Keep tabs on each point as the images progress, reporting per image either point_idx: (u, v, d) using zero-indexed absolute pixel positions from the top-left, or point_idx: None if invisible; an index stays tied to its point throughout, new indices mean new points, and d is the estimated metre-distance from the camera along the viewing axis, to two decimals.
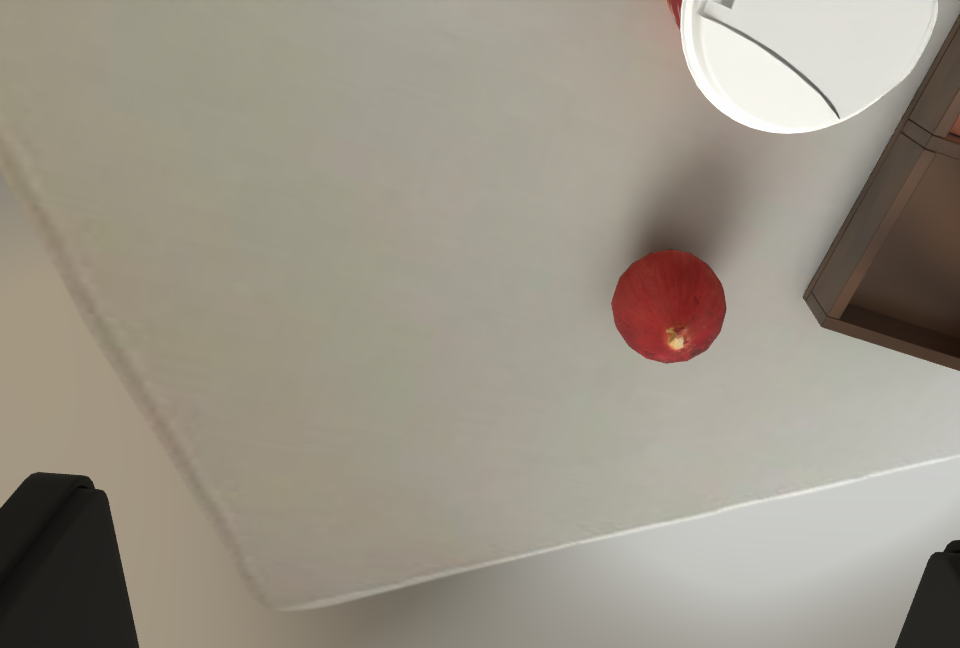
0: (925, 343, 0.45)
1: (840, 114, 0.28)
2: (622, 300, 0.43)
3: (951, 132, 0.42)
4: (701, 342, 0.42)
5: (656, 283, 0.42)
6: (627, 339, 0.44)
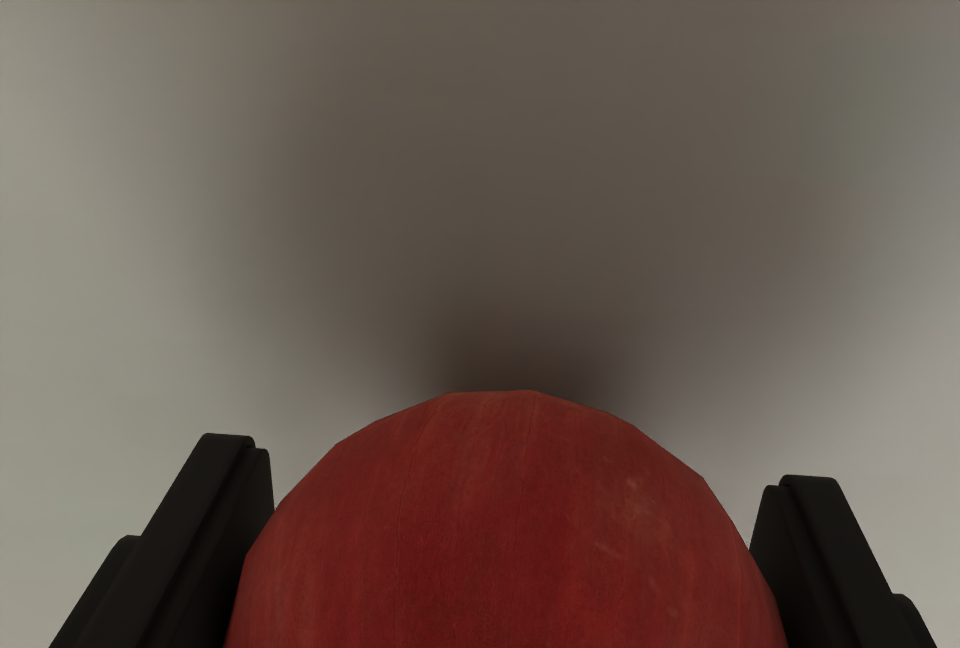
0: None
1: None
2: None
3: None
4: None
5: None
6: None
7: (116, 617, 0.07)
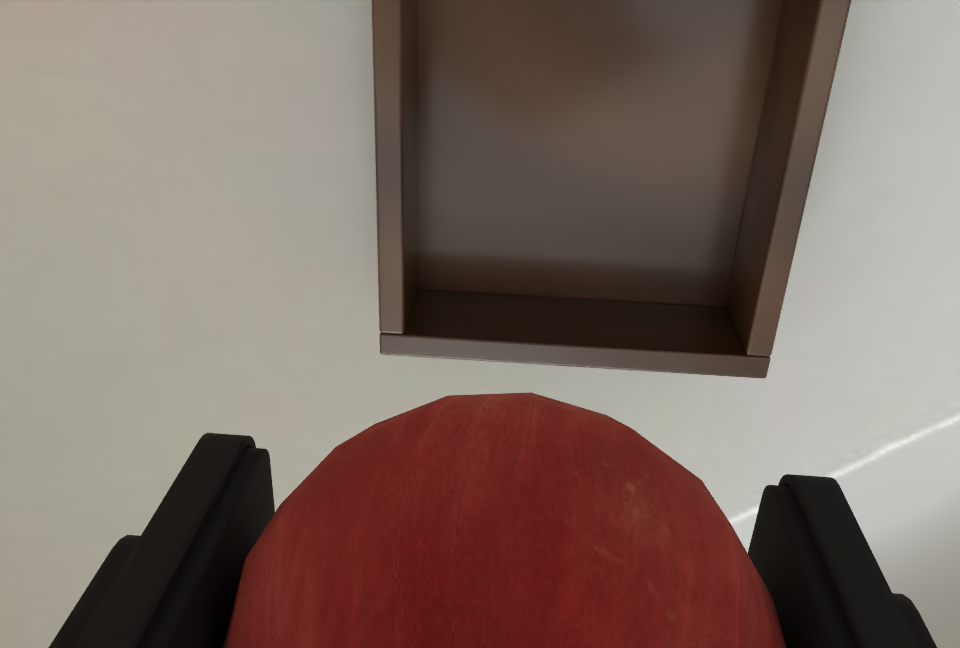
0: (590, 337, 0.24)
1: None
2: None
3: None
4: None
5: None
6: None
7: (116, 617, 0.07)
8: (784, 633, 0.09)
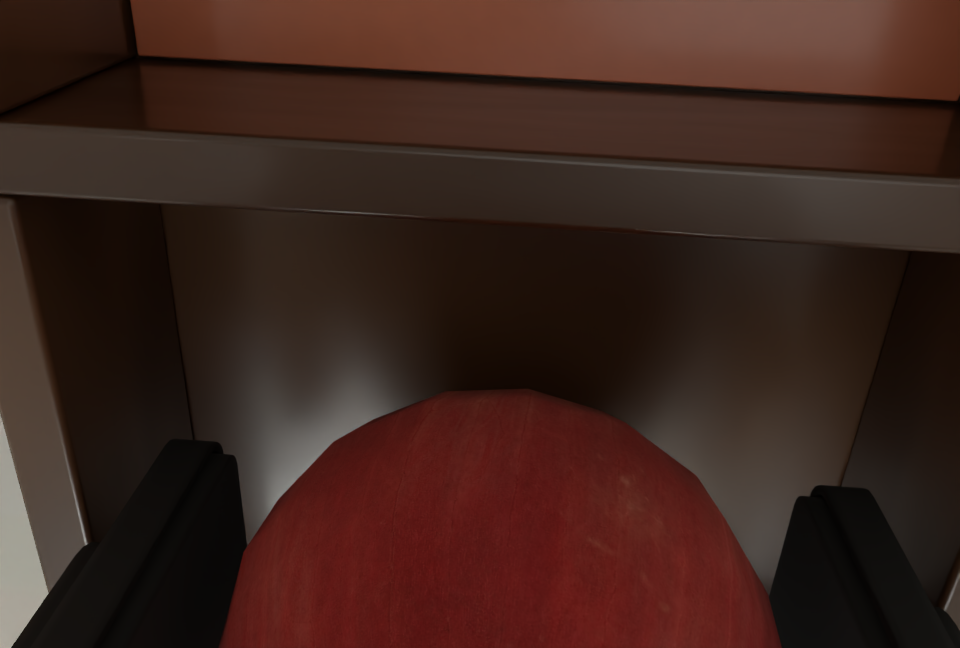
0: None
1: None
2: None
3: (271, 61, 0.10)
4: None
5: None
6: None
7: (69, 628, 0.07)
8: (820, 647, 0.09)
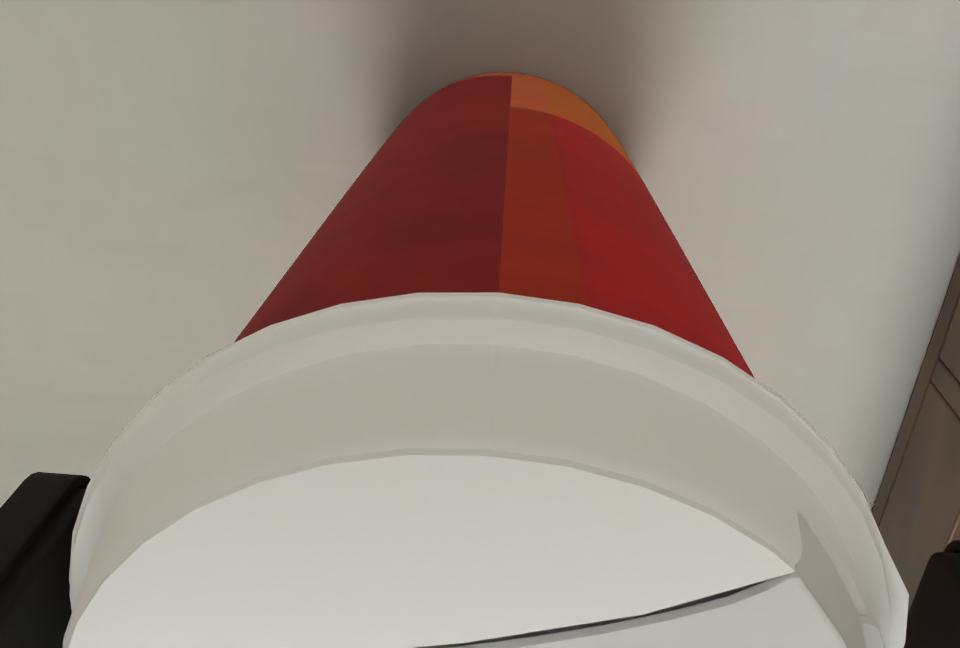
0: None
1: None
2: None
3: None
4: None
5: None
6: None
7: None
8: None
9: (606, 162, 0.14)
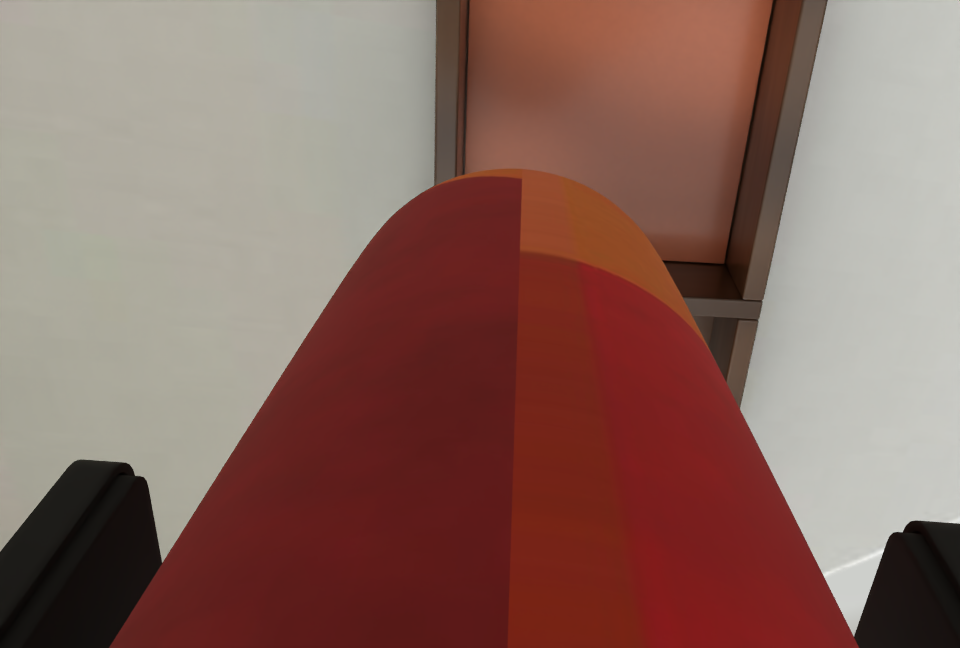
0: None
1: None
2: None
3: None
4: None
5: None
6: None
7: None
8: None
9: (668, 362, 0.09)
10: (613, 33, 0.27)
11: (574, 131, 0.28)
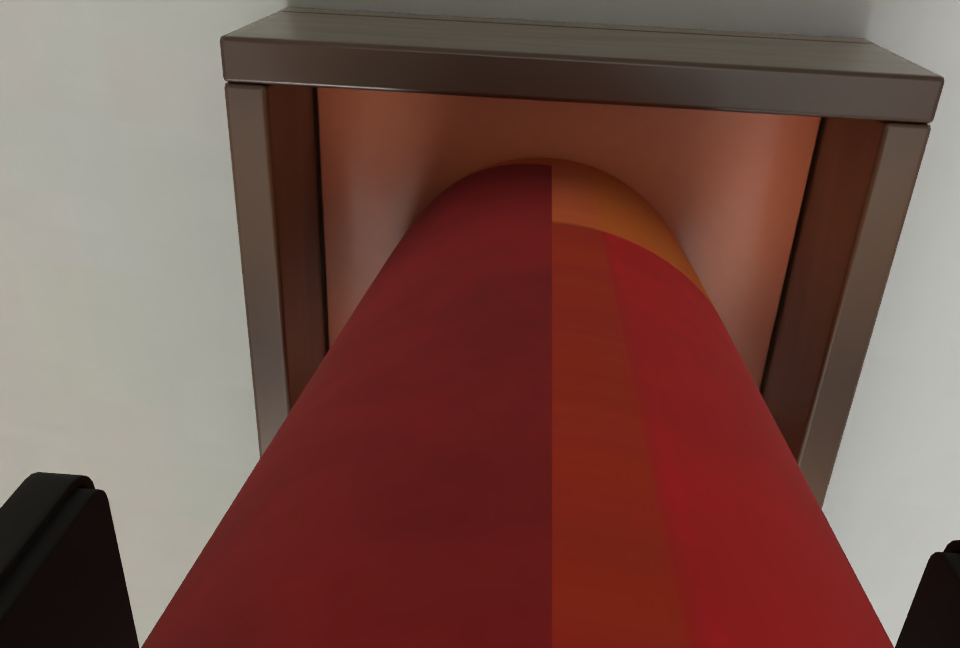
0: None
1: None
2: None
3: None
4: None
5: None
6: None
7: None
8: None
9: (680, 311, 0.10)
10: None
11: None
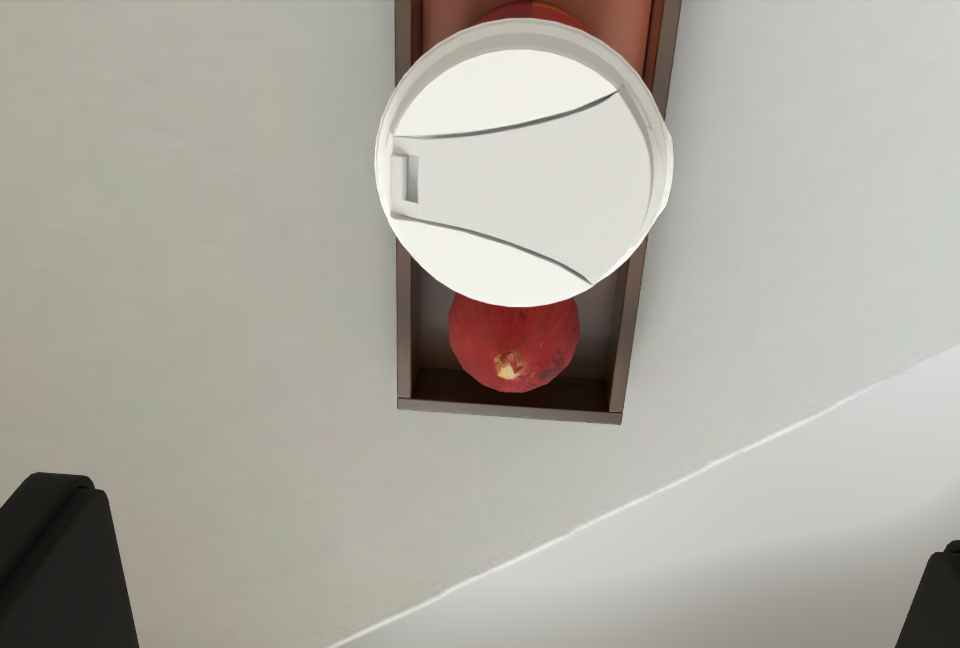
0: (520, 400, 0.41)
1: (591, 279, 0.24)
2: (451, 332, 0.37)
3: None
4: (544, 362, 0.35)
5: (475, 306, 0.35)
6: (471, 375, 0.37)
7: None
8: None
9: (578, 25, 0.29)
10: None
11: None
